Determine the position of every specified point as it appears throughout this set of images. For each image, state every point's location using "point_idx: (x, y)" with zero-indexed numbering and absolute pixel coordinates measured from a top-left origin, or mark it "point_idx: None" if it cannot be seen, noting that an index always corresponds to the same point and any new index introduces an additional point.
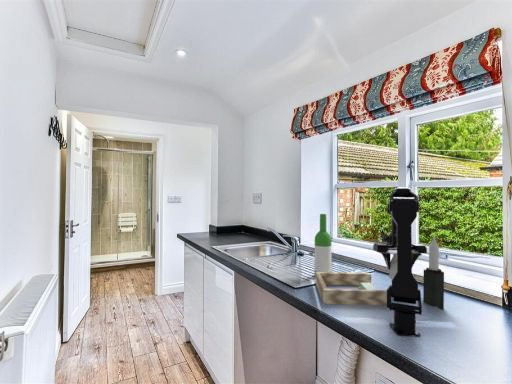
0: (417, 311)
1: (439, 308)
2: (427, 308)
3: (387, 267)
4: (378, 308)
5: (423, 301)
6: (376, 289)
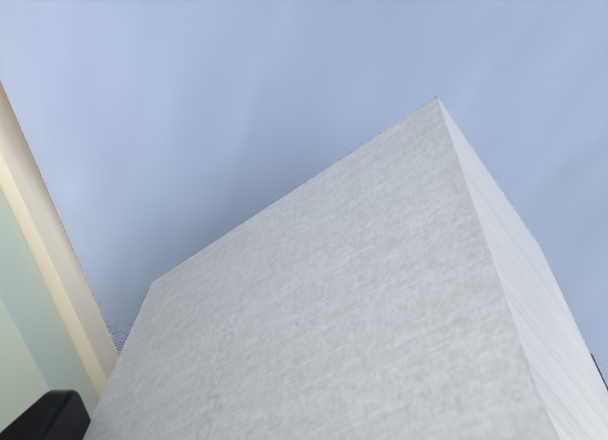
0: None
1: None
2: None
3: (24, 427)
4: None
5: None
6: (8, 332)
